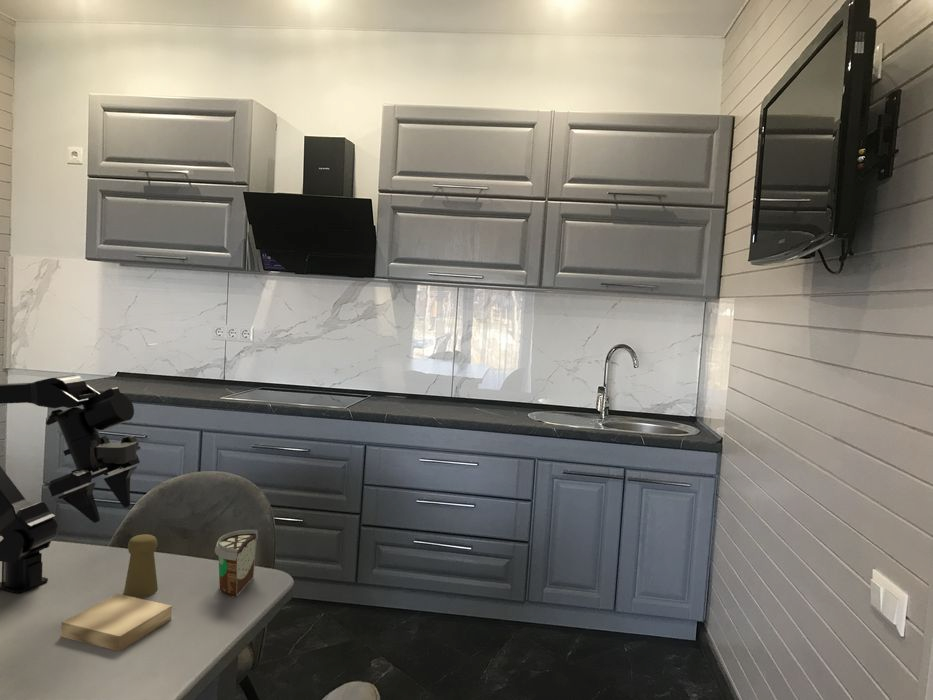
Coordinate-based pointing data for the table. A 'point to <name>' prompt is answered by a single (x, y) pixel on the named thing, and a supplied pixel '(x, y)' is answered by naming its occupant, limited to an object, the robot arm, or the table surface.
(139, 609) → the oak board
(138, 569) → the cork
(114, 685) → the table surface
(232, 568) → the food container
